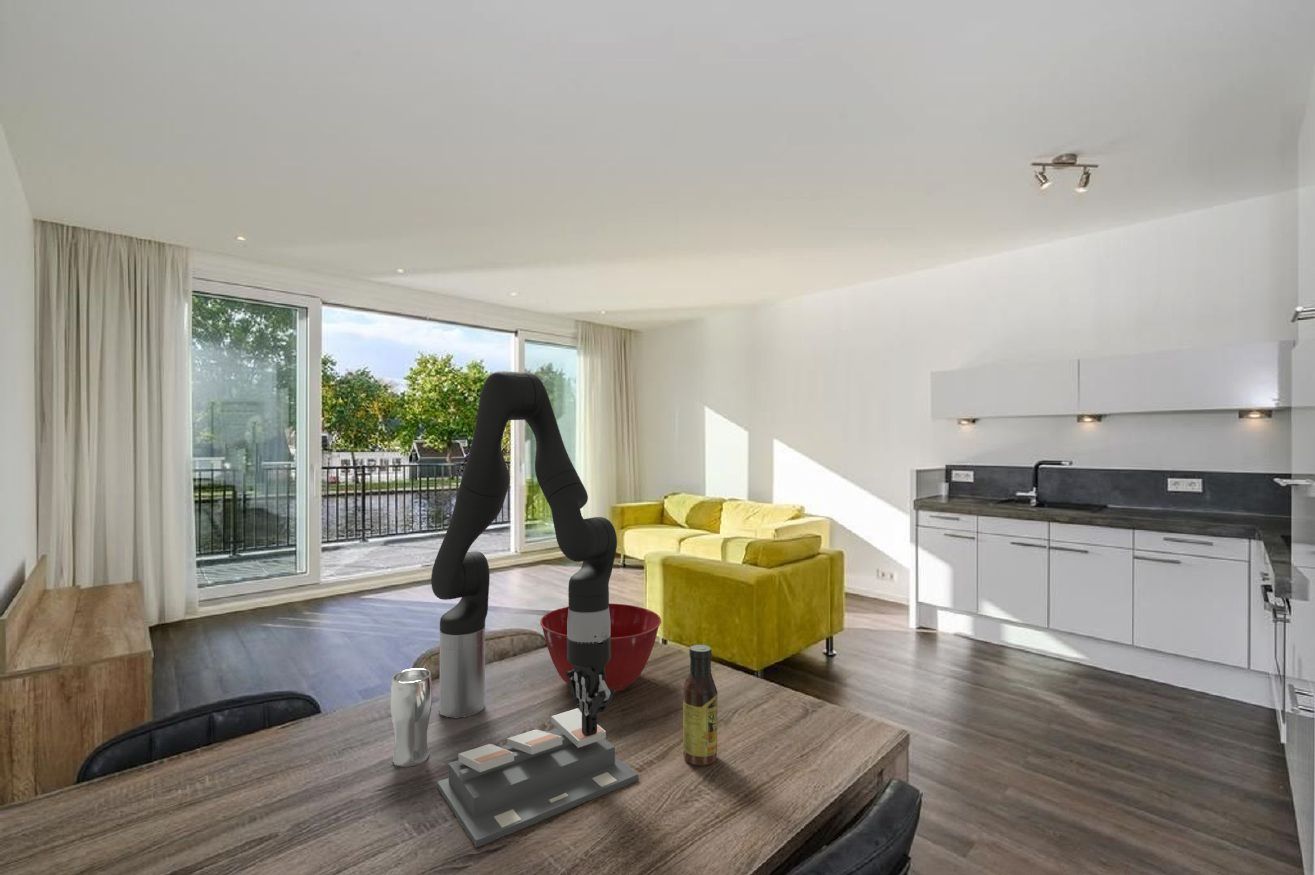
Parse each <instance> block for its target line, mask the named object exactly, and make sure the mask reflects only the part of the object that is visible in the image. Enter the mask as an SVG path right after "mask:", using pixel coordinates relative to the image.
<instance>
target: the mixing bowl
mask: <svg viewBox="0 0 1315 875" xmlns="http://www.w3.org/2000/svg"><path fill="white" fill-rule="evenodd" d="M568 609H569V606H566V607H560V608H557V609H554V610H551V611H549V612H547V613H546V614H544V615H542V617H541V618H540V620H539V621H540V626H541V628H542V632H543V635H544V639H545V644H546V647H547V650H548V653H549V656H550V658H551V660H552V663H553V666H554V668H555V669H556V672H557V673H558V675H559V677H560V678H561V679H562V681H563V682H564V683H566V684H567V685H568V686H569V683H568V680H567V676H566V672H567V671H571V670H573V665H571V664H570V663H569V662H568V660H567V619H568ZM609 613H610V622H611V658H610V660H609V662H607V664H606V665H605V667H604V668H605V673H606V681H605V683H606V685H607V687H608V689H610V688H613V689H614V694H615V693H619V692H621V691H624V690H625V689H626V688H628V687H629V686H630V685H632V684H633V683H635V682H636V680H637V679H639V677H640V676H641V674H642V672H643V671H644V668H645V666H646V665H647V663H648V661H649V659H650V656H651V653H652V651H653V648H654V646H655V641H656V639H657V635H658V631H659V627H660V626H661V624H662V619H661V616H659V615H658V614H657V613H656V612H654V611H652V610H650V609H648V608H644V607H640V606H636V605H632V604H631V605H630V604H625V603H624V604H622V603H610V602H609Z"/></svg>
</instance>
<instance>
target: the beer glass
mask: <svg viewBox="0 0 1315 875" xmlns="http://www.w3.org/2000/svg"><path fill="white" fill-rule="evenodd" d="M432 684H433V683H432V672H431V670H429V669H426V668H419V667H418V668H408V669H404V670H402V671H399V672H397V673H395V674H393V675H392V677H391V689H390V714H391V721H392V726H393V731H394V738H395V743H394V745H395V746H394V751H393V756H392V763H393V762H394V763H393V765H395V766H396V765H397V766H396V767H398V766H400V767H399V768H411V766H412V767H415V765H416V766H418V765H420V764H419V763H421V764H423V763H425V762H426V761H425V760H428V759H427V758H430V757H429V756H430V749H429V744H428V729H429V723H430V718H431V713H432V705H433V685H432ZM422 762H423V763H422ZM417 764H418V765H417Z"/></svg>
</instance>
